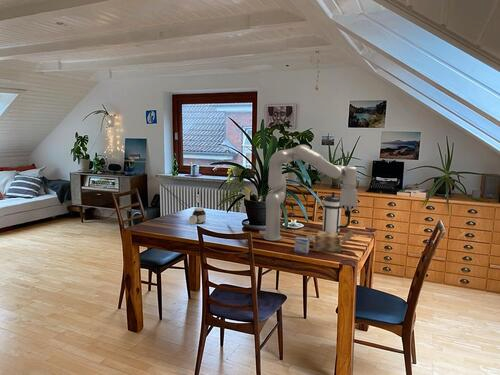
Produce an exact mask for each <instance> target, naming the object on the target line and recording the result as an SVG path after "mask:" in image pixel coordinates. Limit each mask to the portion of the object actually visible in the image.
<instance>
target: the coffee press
mask: <svg viewBox="0 0 500 375" xmlns="http://www.w3.org/2000/svg"><path fill="white" fill-rule="evenodd" d="M321 203H323V213H322V214H323V216H322V231H324V232H337V233H338V237H339V236H340V234H339V233H340V230H341V228H342V229H344V228H345V229H347V228H348V227H349V226H350V224H351V211H352V210H350V215H349V217H347V222H346V224H344V225H343V224H341V217H342V209H344V208H343V207H340V206H339V203H340V195H338V194H337V195H336V192H335V191H332V192H331V194H328V195H326V196H324V198H323V199H322V201H321ZM348 209H349V206H347V210H348Z"/></svg>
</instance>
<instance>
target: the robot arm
mask: <svg viewBox="0 0 500 375" xmlns="http://www.w3.org/2000/svg"><path fill="white" fill-rule="evenodd" d="M299 160H300V161H303V162H304V163H306V164H309V166H312V167H314V168H315V169H316V170H318V171H319V172H320V173H322V174H324V175H326V176H327V177H329V178H332V179H334V180H336V179H339V178H341V177H342V178H343V179H342V184H340V186H339V187H341V189H340V193H339V196H340V203H339V206H340V207H343V208H342V209H344V216H345V218H348V217H349V215H350V211H352V210H353V209H356V208H358V189H356V188H357V175H358V174H357V173H358V169H357V167H356V166H351V165H342V164H337V165H335V164H333V163H331V162H329V161H328V160H326V159H325V158H324V157H323V156H322V154H320V153H319V152H316V151H315V150H313V149H311V147H310V146H309V145H308V144H299V145H296V146H294V147H291V148H287V149H281V150H278V151H275V152H274V153H273V154H272V155H271V157H270V159H269V164H268V165H269V167H268V168H269V169H268V181H267V185H268V188H269V189H270V190H272V191H271V192H269V193H267V195H266V197H265V230H259V232H258V233H259V234H260V235H263V236H262V238H263V239H264V240H266V241H273V242H274V241H280V240H282V238H283V236H282V235H281V234H280V232H281V204H282V203H283V202H284V201H285V200H286V190H287V180H286V177H285V176H284V175H283V174H282V173H283V166H282V165H283V164H287V163H290V162H294V161H299ZM347 206H348V207H349V209H348V210H347ZM350 216H351V215H350Z"/></svg>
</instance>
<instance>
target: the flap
mask: <svg viewBox="0 0 500 375" xmlns="http://www.w3.org/2000/svg"><path fill="white" fill-rule="evenodd" d="M353 236H354V232H353V229H352V228H351V229H350V230H349V231H348V232H346V233H345V234H343V235H342V237H341V243H342V244H345V243H346V242H347V241H348V240H350V239H351V238H352V237H353Z"/></svg>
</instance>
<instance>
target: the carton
mask: <svg viewBox="0 0 500 375" xmlns="http://www.w3.org/2000/svg"><path fill="white" fill-rule="evenodd" d="M338 233H339V232H338ZM338 233H337V232H324V231H323V230H317V234H316V235H313V234H311V233H308V232H306V237H305V238H309V242H310V241H311V242H312V243H313V246H312V251H317V252H319V251H320V252H329V253H339V254H342V245H343V243H342V237H339V236H338Z"/></svg>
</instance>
